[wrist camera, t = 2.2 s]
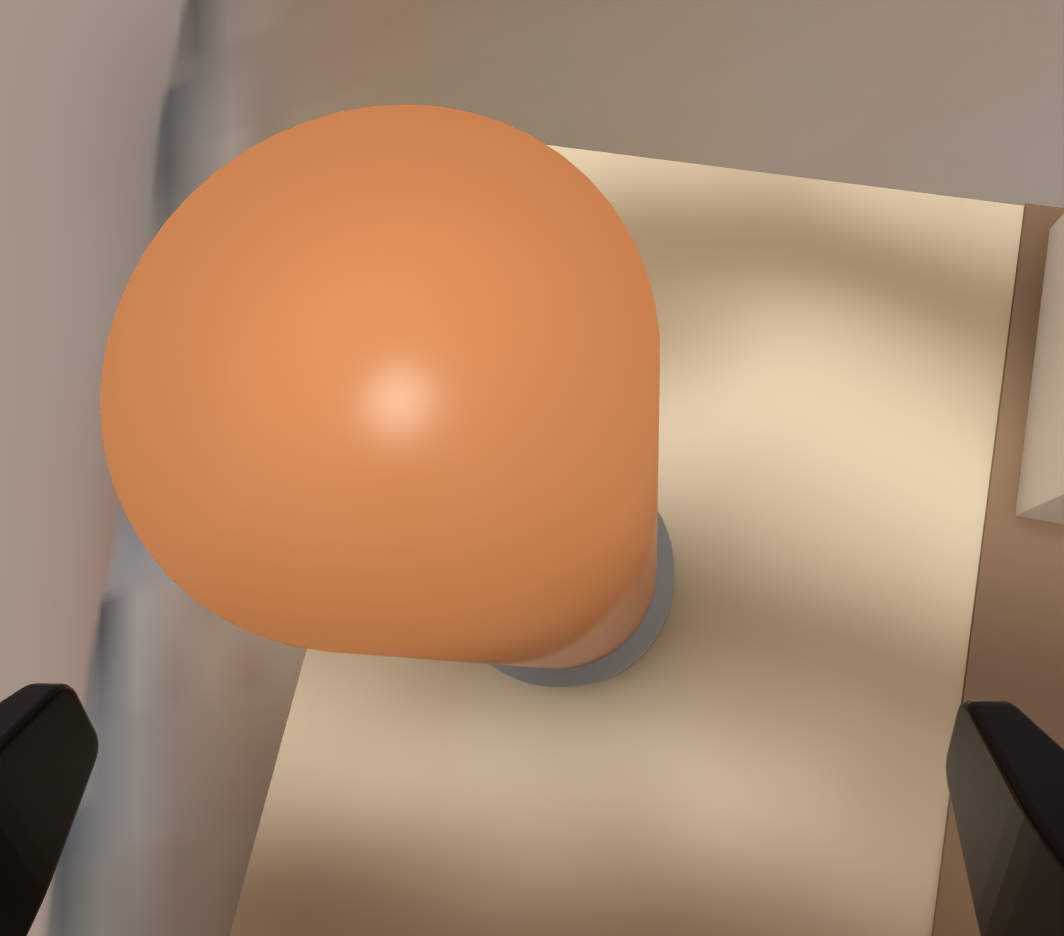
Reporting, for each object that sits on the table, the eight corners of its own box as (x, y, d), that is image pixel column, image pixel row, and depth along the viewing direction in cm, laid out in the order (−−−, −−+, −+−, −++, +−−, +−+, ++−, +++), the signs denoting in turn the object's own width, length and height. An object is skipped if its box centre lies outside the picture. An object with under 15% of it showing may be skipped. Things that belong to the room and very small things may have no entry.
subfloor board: (1626, 1588, 14) (1750, 1704, 12) (213, 1099, 18) (172, 1138, 16) (1608, 323, 18) (1699, 289, 16) (460, 168, 22) (446, 129, 20)
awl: (650, 706, 17) (636, 792, 5) (451, 660, 18) (-38, 621, 5) (688, 505, 18) (771, 100, 5) (497, 468, 19) (168, 34, 6)
